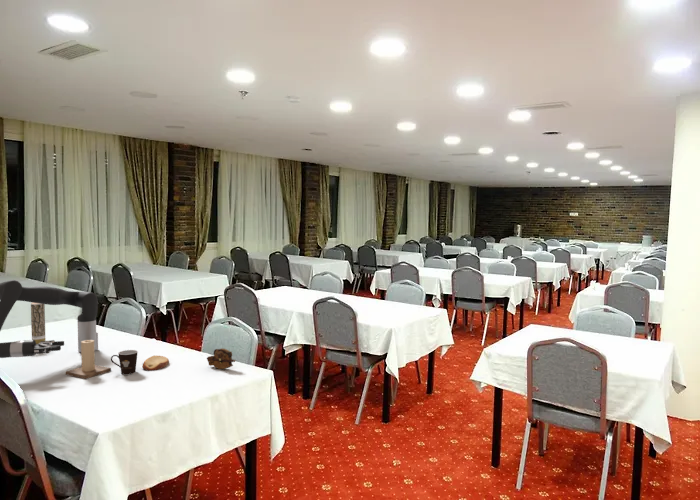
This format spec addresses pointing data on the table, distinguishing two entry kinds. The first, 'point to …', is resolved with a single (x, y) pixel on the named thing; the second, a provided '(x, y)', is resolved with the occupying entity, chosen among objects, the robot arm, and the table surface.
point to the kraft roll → (88, 355)
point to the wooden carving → (221, 359)
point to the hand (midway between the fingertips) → (62, 345)
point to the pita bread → (155, 363)
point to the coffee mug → (127, 361)
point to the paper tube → (38, 322)
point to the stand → (88, 372)
